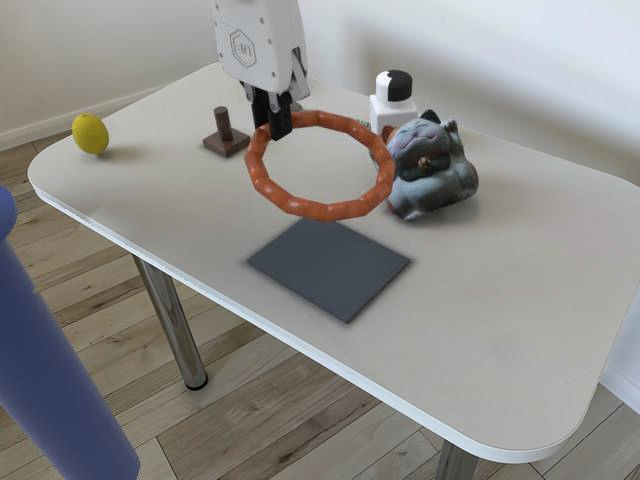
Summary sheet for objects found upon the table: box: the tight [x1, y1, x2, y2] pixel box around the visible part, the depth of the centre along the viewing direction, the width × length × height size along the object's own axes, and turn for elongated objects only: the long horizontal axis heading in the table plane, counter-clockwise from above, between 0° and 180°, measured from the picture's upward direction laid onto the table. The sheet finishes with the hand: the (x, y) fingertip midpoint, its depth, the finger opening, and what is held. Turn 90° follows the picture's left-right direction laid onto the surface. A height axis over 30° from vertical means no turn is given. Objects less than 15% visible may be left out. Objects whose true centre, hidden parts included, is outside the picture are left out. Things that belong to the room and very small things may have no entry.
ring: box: [243, 109, 396, 223], centre depth 66 cm, size 18×18×2 cm
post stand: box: [201, 105, 252, 159], centre depth 97 cm, size 6×6×7 cm
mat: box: [246, 217, 411, 324], centre depth 77 cm, size 14×18×1 cm
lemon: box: [71, 112, 110, 156], centre depth 95 cm, size 6×6×8 cm
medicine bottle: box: [369, 69, 419, 136], centre depth 96 cm, size 7×7×12 cm
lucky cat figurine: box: [368, 108, 480, 221], centre depth 84 cm, size 15×12×14 cm
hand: (274, 131), depth 68 cm, fingers closed on ring, 2 cm apart
